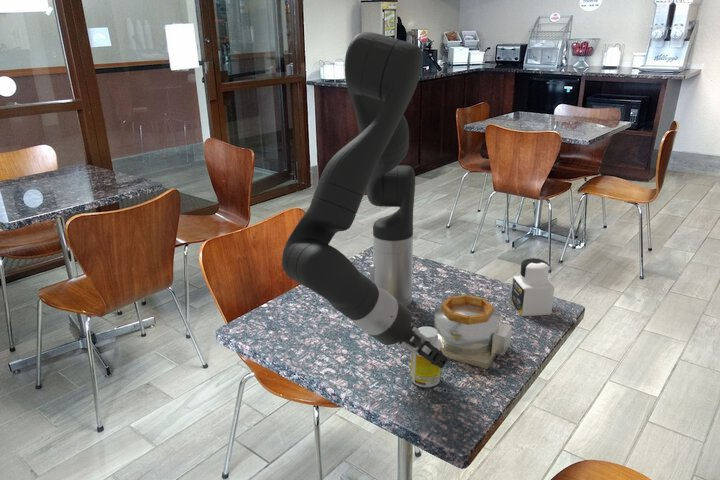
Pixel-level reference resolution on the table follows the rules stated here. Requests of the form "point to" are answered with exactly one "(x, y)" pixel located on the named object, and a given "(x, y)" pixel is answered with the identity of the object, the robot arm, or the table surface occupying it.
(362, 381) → the table surface
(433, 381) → the supplement bottle
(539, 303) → the medicine bottle
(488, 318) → the octagonal rim cylinder base
